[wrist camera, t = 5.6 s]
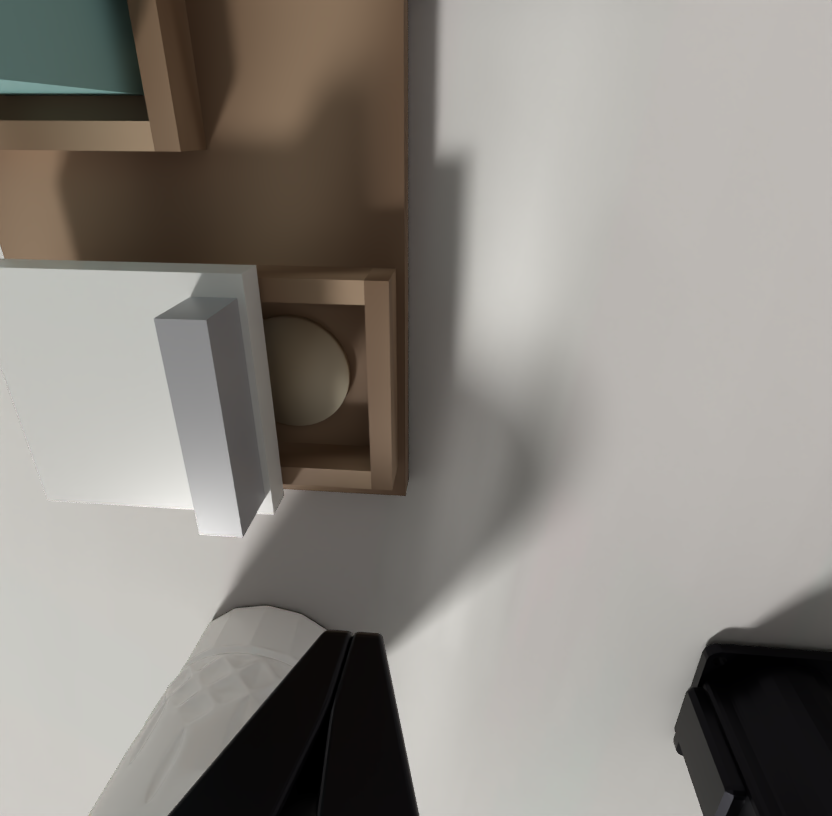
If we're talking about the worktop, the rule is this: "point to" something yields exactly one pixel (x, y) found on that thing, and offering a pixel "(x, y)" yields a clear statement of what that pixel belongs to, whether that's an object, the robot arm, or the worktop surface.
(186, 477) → the lid
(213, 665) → the white cup
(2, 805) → the worktop surface
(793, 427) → the worktop surface
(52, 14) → the block
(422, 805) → the worktop surface
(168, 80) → the board
